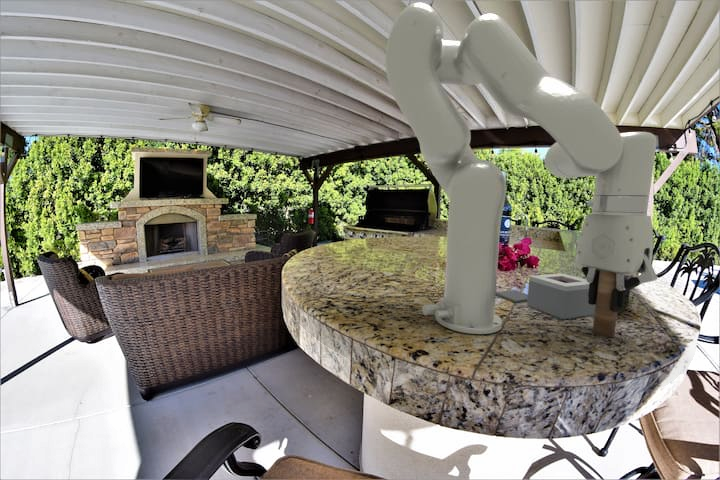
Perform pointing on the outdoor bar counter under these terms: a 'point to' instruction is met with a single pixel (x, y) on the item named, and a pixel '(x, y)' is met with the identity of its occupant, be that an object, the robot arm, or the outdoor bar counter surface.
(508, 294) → the coaster
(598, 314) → the wooden block
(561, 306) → the tissue box
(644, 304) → the outdoor bar counter surface
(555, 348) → the outdoor bar counter surface
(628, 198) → the robot arm
